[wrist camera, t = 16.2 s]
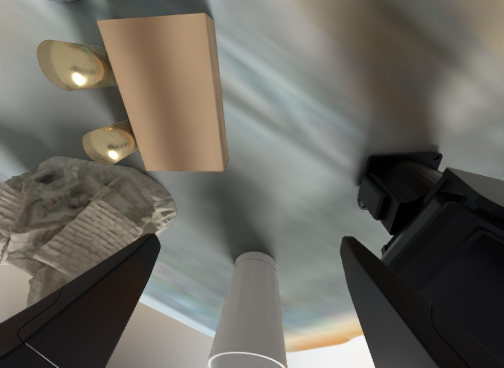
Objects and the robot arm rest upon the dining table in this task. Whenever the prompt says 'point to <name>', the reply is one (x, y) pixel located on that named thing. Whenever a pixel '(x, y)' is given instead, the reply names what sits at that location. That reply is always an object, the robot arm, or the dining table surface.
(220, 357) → the cup
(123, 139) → the peg
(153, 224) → the ceramic cottage
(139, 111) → the board
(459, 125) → the dining table surface
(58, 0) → the tray
